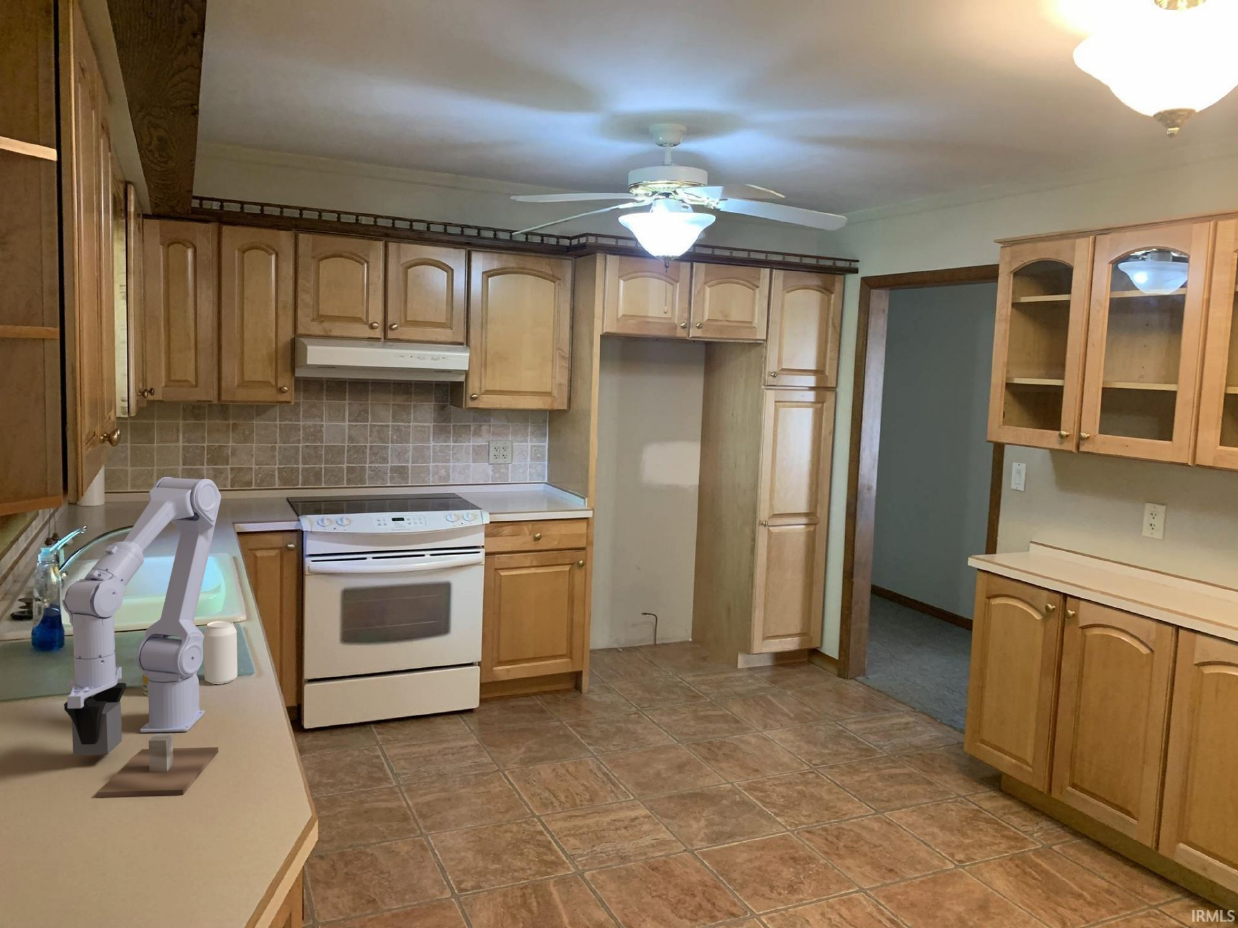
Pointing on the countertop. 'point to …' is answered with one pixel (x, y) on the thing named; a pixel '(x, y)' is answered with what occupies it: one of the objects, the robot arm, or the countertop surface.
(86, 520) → the countertop surface
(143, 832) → the countertop surface
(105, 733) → the gray rectangular prism
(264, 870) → the countertop surface
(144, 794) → the flat brown plate
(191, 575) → the robot arm
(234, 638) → the beverage can
